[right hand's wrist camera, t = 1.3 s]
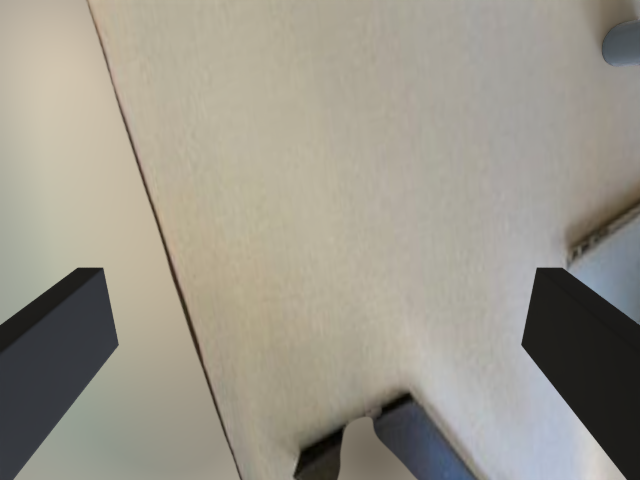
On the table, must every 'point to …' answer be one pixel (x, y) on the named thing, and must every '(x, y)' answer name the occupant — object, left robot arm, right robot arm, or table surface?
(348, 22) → the table surface
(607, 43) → the bottle
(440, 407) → the table surface
